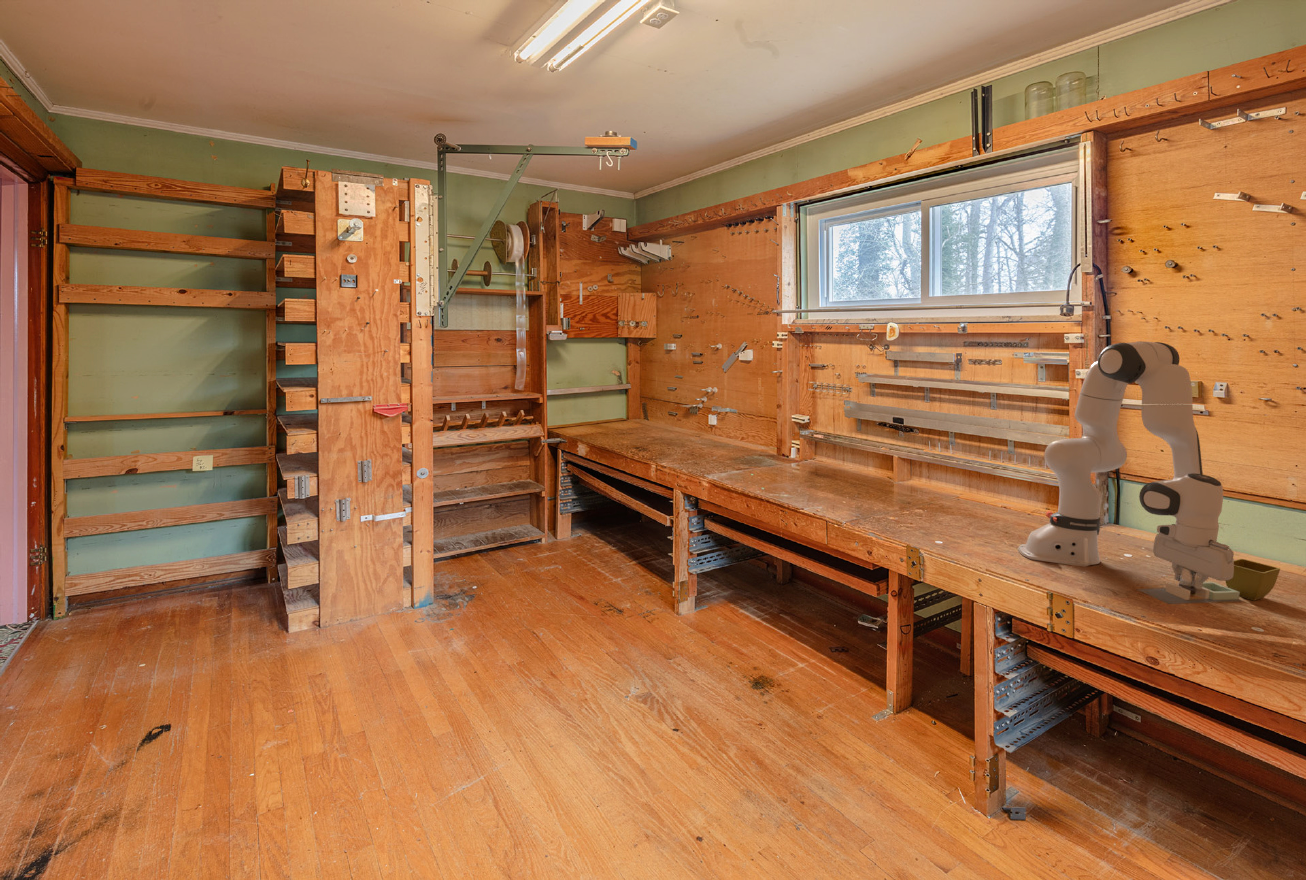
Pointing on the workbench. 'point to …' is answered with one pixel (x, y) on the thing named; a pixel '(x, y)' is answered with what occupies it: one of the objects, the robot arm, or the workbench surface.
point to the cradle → (1187, 592)
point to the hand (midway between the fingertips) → (1187, 584)
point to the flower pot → (1252, 579)
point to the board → (1174, 599)
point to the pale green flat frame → (1220, 591)
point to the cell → (1188, 580)
